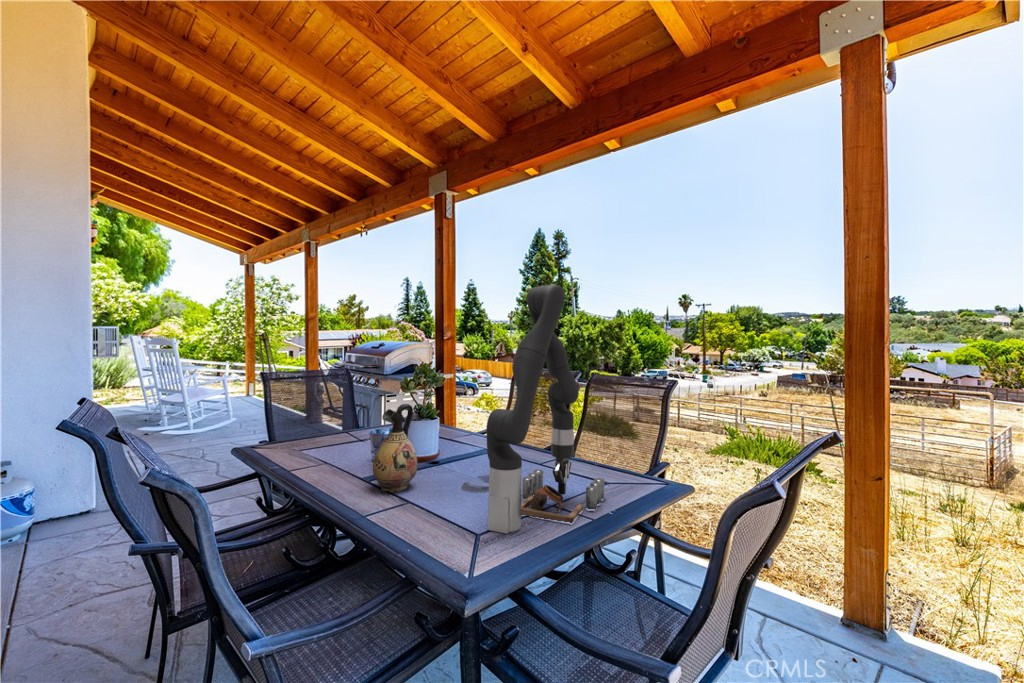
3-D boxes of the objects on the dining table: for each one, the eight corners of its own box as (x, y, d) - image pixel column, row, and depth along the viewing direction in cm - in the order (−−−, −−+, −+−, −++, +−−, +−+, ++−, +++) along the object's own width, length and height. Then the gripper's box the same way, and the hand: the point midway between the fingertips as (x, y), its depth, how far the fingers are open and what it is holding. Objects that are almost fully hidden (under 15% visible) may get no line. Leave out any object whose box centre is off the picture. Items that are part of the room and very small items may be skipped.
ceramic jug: (391, 498, 148) (392, 408, 148) (363, 489, 157) (365, 404, 157) (429, 486, 161) (431, 403, 161) (402, 478, 170) (403, 400, 171)
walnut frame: (571, 525, 128) (571, 518, 128) (515, 514, 136) (515, 507, 136) (583, 511, 140) (583, 504, 140) (530, 501, 147) (530, 495, 147)
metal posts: (595, 512, 138) (595, 490, 138) (520, 499, 149) (520, 478, 149) (605, 499, 150) (605, 478, 151) (535, 488, 161) (535, 468, 161)
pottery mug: (534, 503, 147) (547, 482, 147) (556, 521, 143) (570, 499, 143) (520, 505, 137) (534, 482, 137) (544, 525, 132) (558, 501, 132)
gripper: (567, 447, 140) (566, 502, 140) (579, 439, 152) (578, 489, 152) (544, 444, 143) (544, 498, 143) (558, 436, 155) (557, 486, 155)
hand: (561, 493), depth 148 cm, fingers closed
